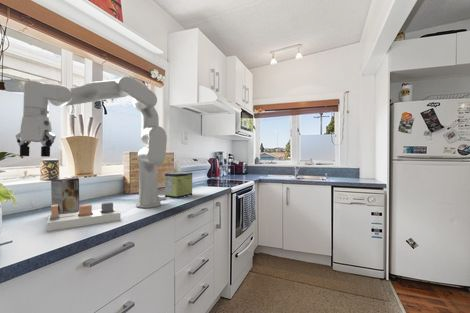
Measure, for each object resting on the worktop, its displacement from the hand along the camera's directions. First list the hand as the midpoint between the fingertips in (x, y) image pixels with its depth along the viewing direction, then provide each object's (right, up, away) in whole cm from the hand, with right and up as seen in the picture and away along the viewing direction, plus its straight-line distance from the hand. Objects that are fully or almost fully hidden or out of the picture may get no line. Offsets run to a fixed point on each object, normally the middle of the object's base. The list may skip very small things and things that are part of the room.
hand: (34, 156), depth 92 cm
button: (+24, -25, +8) cm, 36 cm away
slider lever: (+10, -24, -3) cm, 26 cm away
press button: (+18, -25, +3) cm, 31 cm away
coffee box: (-1, -27, +18) cm, 32 cm away
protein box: (+42, -27, +62) cm, 80 cm away
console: (+18, -27, +3) cm, 33 cm away
